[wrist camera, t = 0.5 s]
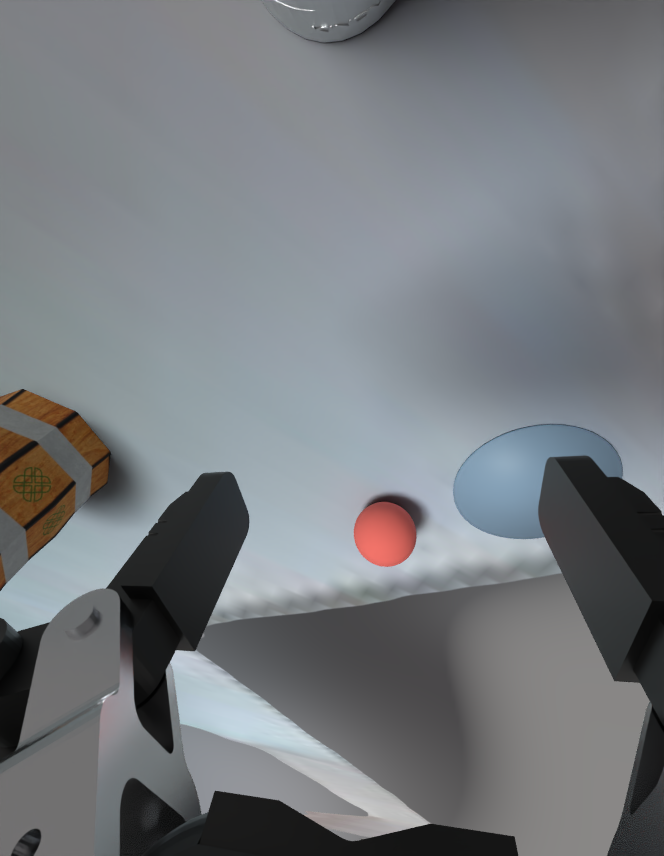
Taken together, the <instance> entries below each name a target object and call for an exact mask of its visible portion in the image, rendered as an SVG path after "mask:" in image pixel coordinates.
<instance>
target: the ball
mask: <svg viewBox="0 0 664 856" xmlns="http://www.w3.org/2000/svg"><path fill="white" fill-rule="evenodd" d="M354 539H355V543H356V546H357V548H358V550H359V552H360V553H361V554H362V555H363V557H365V558H366V559H367V560H368V561H370V562H371V563H373V564H375V565H379V566H385V567H388V566H395V565H397V564H400V563H402V562H403V561H404V560H406V559H407V558H408V557H409V556H410V554H411V553H412V551H413V549H414V547H415V544H416V528H415V524H414V522H413V520H412V518H411V516H410V515H409V514H408V513H407V512H406V511H405V510H404V509H403V508H402V507H400V506H398V505H396V504H394V503H390V502H378V503H374V504H372V505H370V506H368V507H367V508H365V509H364V510H363V511H362V512H361V513H360V515H359V516H358V518H357V520H356V523H355V527H354Z"/></svg>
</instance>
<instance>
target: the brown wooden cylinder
mask: <svg viewBox="0 0 664 856" xmlns="http://www.w3.org/2000/svg"><path fill="white" fill-rule="evenodd" d="M110 455H111V452H110V451H109V450H108V449H107V447H106V446H105V445H104V444H103V443H102V441H101V440H100V439H99V438H98V437H97V436H96V434H95V433H94V432H93V431H92V430H91V428H90V427H89V426H88V425H87V424H86V422H85V421H84V420H83V419H82V418H81V416H80V415H79V414H78V413H77V412H76V411H73V410H71V409H68V408H66V407H64V406H61V405H59V404H57V403H54V402H52V401H50V400H47V399H45V398H43V397H40V396H38V395H36V394H33V393H31V392H29V391H26V390H24V389H21V390H19V391H16V392H13V393H10V394H7V395H4V396H1V397H0V591H1V590H2V588H3V587H4V586H5V584H6V583H7V582H8V581H9V580H10V579H11V578H12V577H13V576H14V575H15V574H16V573H17V572H18V571H19V570H20V569H21V568H22V567H23V566H24V565H25V564H26V563H27V561H28V560H30V559H31V558H32V557H33V556H34V555H35V554H36V553H37V552H39V551H40V550H41V549H42V548H43V547H44V546H45V545H47V544H48V543H49V542H50V541H51V540H52V539H53V538H54V537H56V535H57V534H58V533H59V532H60V530H61V529H62V528H63V527H64V526H65V524H66V523H67V522H68V521H69V519H70V518H71V517H72V516H73V514H74V513H75V512H76V511H77V510H78V509H79V508H80V507H81V506H82V505H83V504H84V503H85V502H86V501H87V500H88V499H89V498H90V497H91V496H92V495H93V494H94V493H96V492H97V491H98V490H99V489H101V488H102V487H103V486H104V485H106V484H107V480H108V472H109V463H110Z"/></svg>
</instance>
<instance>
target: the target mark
mask: <svg viewBox="0 0 664 856" xmlns="http://www.w3.org/2000/svg"><path fill="white" fill-rule="evenodd" d="M582 455H587V456H589V457H591V458H592V459H593V460H594V462H595V463H596V464H597V465H598V466H599V468H600V469H601V470H602V471H603V472H604V474H605V475H606V476H607V477H620V478H621V479H622V476H623V473H622V464H621V460H620V458H619V456H618V454H617V452H616V451H615V450H614V448H613V447H612V446H611V445H610V444H609V443H608V442H607V441H606V440H605V439H603V438H602V437H600V436H598V435H597V434H595V433H593V432H590V431H588V430H586V429H582V428H578V427H574V426H568V425H555V424H549V425H536V426H530V427H525V428H521V429H517V430H514V431H511V432H508V433H505V434H503V435H500V436H498V437H496V438H494V439H492V440H490V441H489V442H487V443H485V444H484V445H482V446H481V447H480V448H478V449H477V450H476V451H475V452H474V453H472V454H471V455H470V456H469V457H468V458H467V460H466V461H465V462H464V463H463V465H462V466H461V468H460V469H459V471H458V473H457V476H456V478H455V482H454V488H453V494H454V501H455V504H456V507H457V509H458V510H459V512H460V514H461V515H462V516H463V517H464V519H465V520H467V521H468V522H469V523H470V524H471V525H473V526H474V527H476V528H478V529H480V530H482V531H484V532H486V533H489V534H492V535H496V536H499V537H505V538H513V539H533V538H542V537H545V536H544V534H543V532H542V529H541V526H540V522H539V516H538V505H539V499H540V493H541V487H542V481H543V475H544V469H545V464H546V461H547V459H548V458H549V457H561V456H582Z"/></svg>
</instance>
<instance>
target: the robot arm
mask: <svg viewBox="0 0 664 856" xmlns="http://www.w3.org/2000/svg"><path fill="white" fill-rule="evenodd" d="M261 1H262V2H263V4H264V5H265V6H266V8H267V9H268V11H269V12H270V13H271V14H272V15H273V16H274V17H275V18H276V19H277V20H278V21H279V22H280V23H281V24H282V25H283V26H285V27H286V28H287V29H288V30H290V31H292V32H294V33H296V34H297V35H299V36H301V37H303V38H305V39H309V40H314V41H319V42H323V43H324V42H334V41H343V40H345V39H348V38H350V37H353V36H355V35H357V34H360V33H362V32H363V31H364V30H366V29H367V28H368V27H370V26H371V25H372V24H374V23H375V22H376V21H378V20H379V19H380V18H381V17H382V16H383V14H384V13H385V12H386V11H387V10H388V9H389V8H390V6H391V5H392V4H393V3H394V2H395V1H396V0H261ZM538 516H539V522H540V526H541V529H542V532H543V534H544V536H545V538H546V540H547V543H548V545H549V547H550V549H551V551H552V553H553V555H554V557H555V559H556V561H557V563H558V565H559V567H560V569H561V571H562V574H563V576H564V578H565V580H566V582H567V584H568V586H569V588H570V590H571V592H572V594H573V596H574V598H575V600H576V603H577V604H578V606H579V609H580V611H581V613H582V615H583V617H584V619H585V621H586V623H587V625H588V627H589V629H590V631H591V634H592V635H593V638H594V640H595V642H596V643H597V646H598V648H599V650H600V652H601V654H602V656H603V658H604V660H605V662H606V665H607V667H608V669H609V671H610V673H611V675H612V677H613V679H614V681H622V682H638V683H641V685H642V687H643V689H644V691H645V693H646V695H647V696H648V698H649V700H650V702H649V704H648V706H647V709H646V712H645V717H644V721H643V726H642V730H641V734H640V738H639V743H638V747H637V751H636V756H635V761H634V764H633V769H632V773H631V777H630V782H629V786H628V791H627V795H626V799H625V803H624V808H623V812H622V815H621V819H620V822H619V825H618V828H617V831H616V833H615V835H614V838H613V840H612V843H611V845H610V848H609V851H608V854H607V856H664V516H663V515H662V513H661V510H660V509H659V508H658V507H657V506H656V505H655V504H654V503H653V502H652V501H651V500H650V498H649V497H648V496H647V495H646V494H645V493H644V492H643V491H641V490H639V489H638V488H636V487H634V486H633V485H631V484H629V483H628V482H626V481H624V480H623V479H621V478H620V477H607V476H606V475H605V474H604V472H603V471H602V470H601V469H600V468H599V466H598V465H597V464H596V463H595V462H594V460H593V459H592V458H591V457H589V456H587V455H582V456H561V457H549V458H548V459H547V461H546V464H545V469H544V475H543V481H542V487H541V493H540V499H539V505H538ZM248 529H249V514H248V510H247V508H246V505H245V502H244V500H243V497H242V495H241V492H240V489H239V487H238V484H237V481H236V479H235V477H234V475H233V474H232V473H231V472H215V473H203V474H202V475H200V476H199V478H198V479H197V481H196V482H195V483H194V485H193V486H192V487H191V489H190V490H189V492H185V493H184V494H182V495H181V496H180V497H179V498H177V499H176V500H175V501H174V502H173V503H171V504H170V505H169V506H168V508H167V509H166V510H165V512H164V513H163V514H162V515H161V517H160V518H159V519H158V523H155V525H154V526H153V527H152V529H151V530H150V531H149V535H148V536H146V537H145V538H144V539H143V541H142V542H141V543H140V545H139V546H138V547H137V548H136V550H135V551H134V552H133V554H132V555H131V556H130V558H129V559H128V560H127V562H126V563H125V564H124V566H123V567H122V568H121V570H120V571H119V572H118V574H117V575H116V576H115V577H114V579H113V580H112V581H111V583H110V584H109V585H108V587H107V588H106V589H97V590H94V591H91V592H88V593H86V594H84V595H82V596H80V597H78V598H77V599H75V600H74V601H72V602H71V603H69V604H68V605H67V606H65V607H64V608H63V609H62V610H61V611H60V612H59V613H58V614H57V615H56V616H55V617H54V618H53V619H52V621H51V622H49V623H46V624H42V625H39V626H35V627H32V628H28V629H25V630H21V631H18V632H17V631H15V630H14V629H13V628H12V627H11V626H10V625H9V624H8V623H7V622H6V621H5V620H4V619H2V618H0V856H518V852H517V847H516V842H515V837H514V836H507V835H500V834H494V833H487V832H481V831H474V830H468V829H461V828H454V827H448V826H442V825H436V824H428V825H423V826H419V827H415V828H411V829H406V830H402V831H398V832H393V833H389V834H385V835H381V836H376V837H372V838H368V839H364V840H359V841H348V840H345V839H343V838H341V837H339V836H337V835H336V834H334V833H332V832H331V831H329V830H328V829H326V828H324V827H323V826H321V825H319V824H318V823H316V822H314V821H312V820H311V819H309V818H307V817H306V816H304V815H302V814H301V813H299V812H297V811H296V810H294V809H292V808H291V807H289V806H287V805H286V804H284V803H282V802H281V801H279V800H272V799H266V798H259V797H253V796H246V795H240V794H233V793H226V792H220V791H215V792H214V795H213V799H212V802H211V805H210V808H209V812H208V813H205V814H203V815H202V814H201V808H200V803H199V799H198V795H197V791H196V787H195V784H194V782H193V779H192V777H191V774H190V772H189V770H188V767H187V764H186V761H185V756H184V751H183V744H182V736H181V728H180V720H179V713H178V705H177V697H176V690H175V682H174V674H173V669H172V666H171V664H170V661H171V659H172V657H173V655H174V653H175V650H183V651H195V650H196V648H197V645H198V643H199V641H200V639H201V637H202V634H203V632H204V630H205V628H206V625H207V623H208V621H209V619H210V616H211V614H212V612H213V610H214V607H215V605H216V603H217V601H218V598H219V596H220V594H221V592H222V589H223V587H224V585H225V583H226V580H227V578H228V576H229V574H230V571H231V569H232V567H233V565H234V563H235V560H236V558H237V556H238V554H239V551H240V549H241V547H242V545H243V542H244V540H245V538H246V536H247V533H248Z"/></svg>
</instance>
